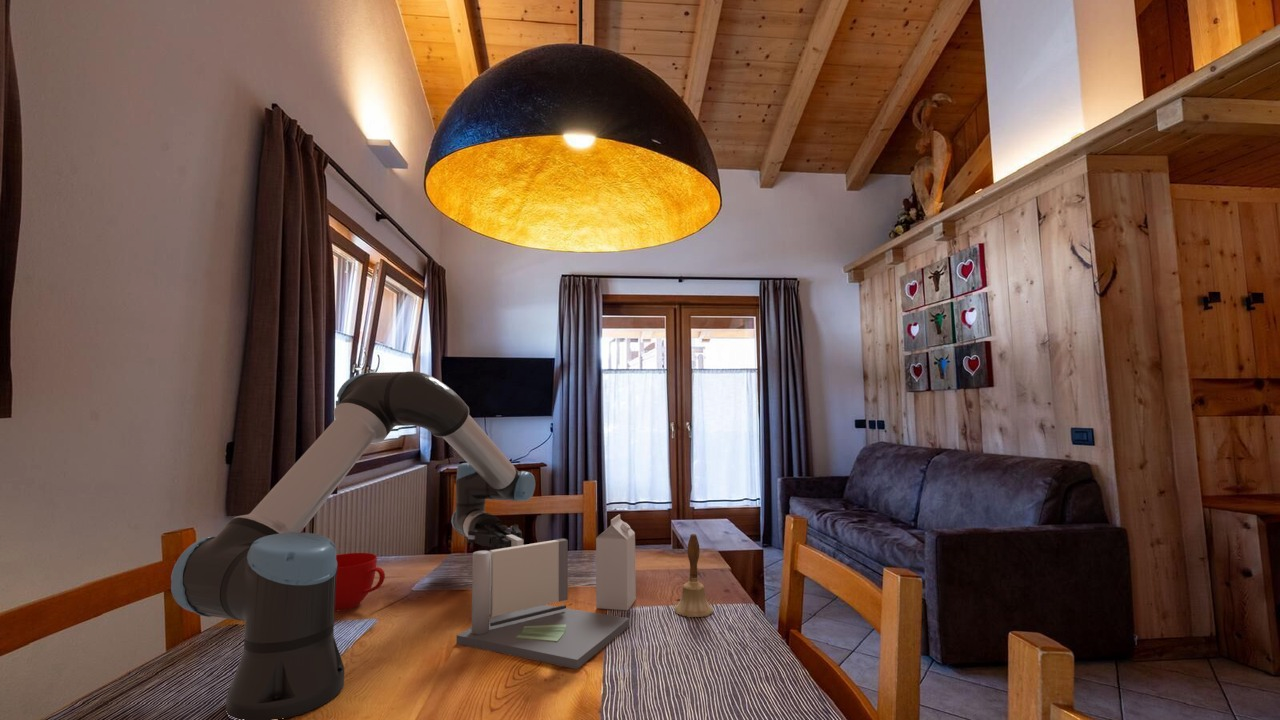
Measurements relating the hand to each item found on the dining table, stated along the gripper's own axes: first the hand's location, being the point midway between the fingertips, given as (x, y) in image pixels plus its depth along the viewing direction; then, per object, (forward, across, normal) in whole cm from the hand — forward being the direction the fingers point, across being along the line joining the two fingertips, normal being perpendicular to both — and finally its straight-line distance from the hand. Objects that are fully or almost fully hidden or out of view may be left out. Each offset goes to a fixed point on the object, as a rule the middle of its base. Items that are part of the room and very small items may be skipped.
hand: (520, 546), depth 122 cm
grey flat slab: (+17, +2, -13) cm, 21 cm away
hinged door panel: (+11, +5, -11) cm, 17 cm away
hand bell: (+24, -29, -14) cm, 40 cm away
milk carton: (+11, -18, -14) cm, 25 cm away
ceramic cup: (-24, +30, -13) cm, 40 cm away
